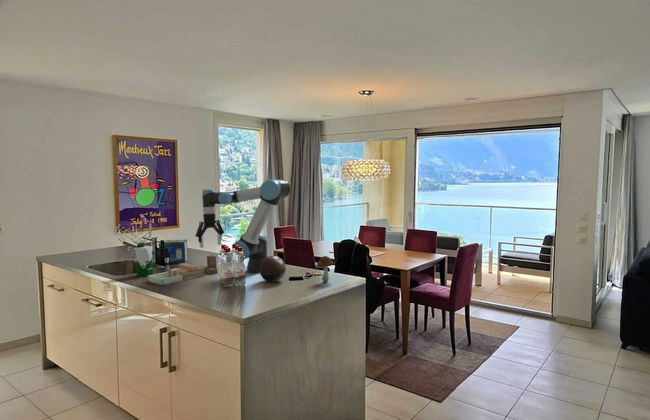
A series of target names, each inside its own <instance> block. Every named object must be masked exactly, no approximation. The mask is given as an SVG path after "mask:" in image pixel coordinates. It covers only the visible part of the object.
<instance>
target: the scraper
mask: <svg viewBox="0 0 650 420" xmlns="http://www.w3.org/2000/svg"><path fill="white" fill-rule="evenodd" d="M206 264H207V266H205V265H199V266H198V267H202V268H204V269H205V274H208V275H211V276H212V275H216V274H218V268H217V255H207V256H206Z"/></svg>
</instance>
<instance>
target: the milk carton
mask: <svg viewBox="0 0 650 420" xmlns="http://www.w3.org/2000/svg"><path fill="white" fill-rule="evenodd" d="M153 249H154V248H153V246H151V245H145V243H137V244H136V247H134V251H135V259H136V260H135V261H136V263H135V264H136V277H146V278H148V275H154V267H153V266H154V265H153Z"/></svg>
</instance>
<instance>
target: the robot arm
mask: <svg viewBox="0 0 650 420" xmlns="http://www.w3.org/2000/svg"><path fill="white" fill-rule="evenodd" d="M291 188H292V187H291V184H290V183H289V182H288V180H285V179H281V178H279V179H275V178H273V179H272V178H271V179H267V180H265V181H263V182H262V183H261V185H260V186H258V187H252V188H245V189H241V190H235V191H221V192H219V191H218V192H215V189H211V188H207V189H206V188H205V189H203V190H202V194H201V197H202V213H203V214H202V215H203V216H202V217H203V221H199V225H198V228H197V230H196V232H195V235H194V236H195V238H196V237H197V238H198V239H197V240H198V243H199V248H201V249H202V248H204V237H203V236H204V234H205V232H206V231H207V230H208V229H210V228H212V229H213V230H214V231H215V232H216V233H217V236H216V237H217V239H216V240H217V245H218V246H220V245H222V239H223V238H222V235H223V234H225V231H224V229H223V227H222V225H221V223H220V222H221V221H220V220H219V219H216V205H229V204H237V203H241V202H247V201H253V200H259V204H258V205H257V208H256V209H255V211H254V214H253V215H252V218H251V220H250V222H249V224H248V226H247V229H246V230H245V232H244V233H242V234H241V235H240V238H239V239H238V240H236V241H235V242H234V243H233V245H238V246H240V247H242V248H243V253H244V255H243V256H245V258H244V259H243V260H246V259H248V262H247V266H246V272H247V273H253V274H255V273H256V274H257V273H259V274H260V271H259V267H260V264H261V262H262V261H263V260H264V259H265V258H266V257H268V240H267V236H266V235H261V234H262V231H263V229H264V227H265V225H266V223H267V221H268V219H269V217H270V215H271V213H272V212H273V211H272V210H273V209H274V207H276V206H277V205H278V204H279V202H280V200H281V199H284V198H287V197H288V196H289V195H290V194H291V190H292V189H291Z"/></svg>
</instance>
